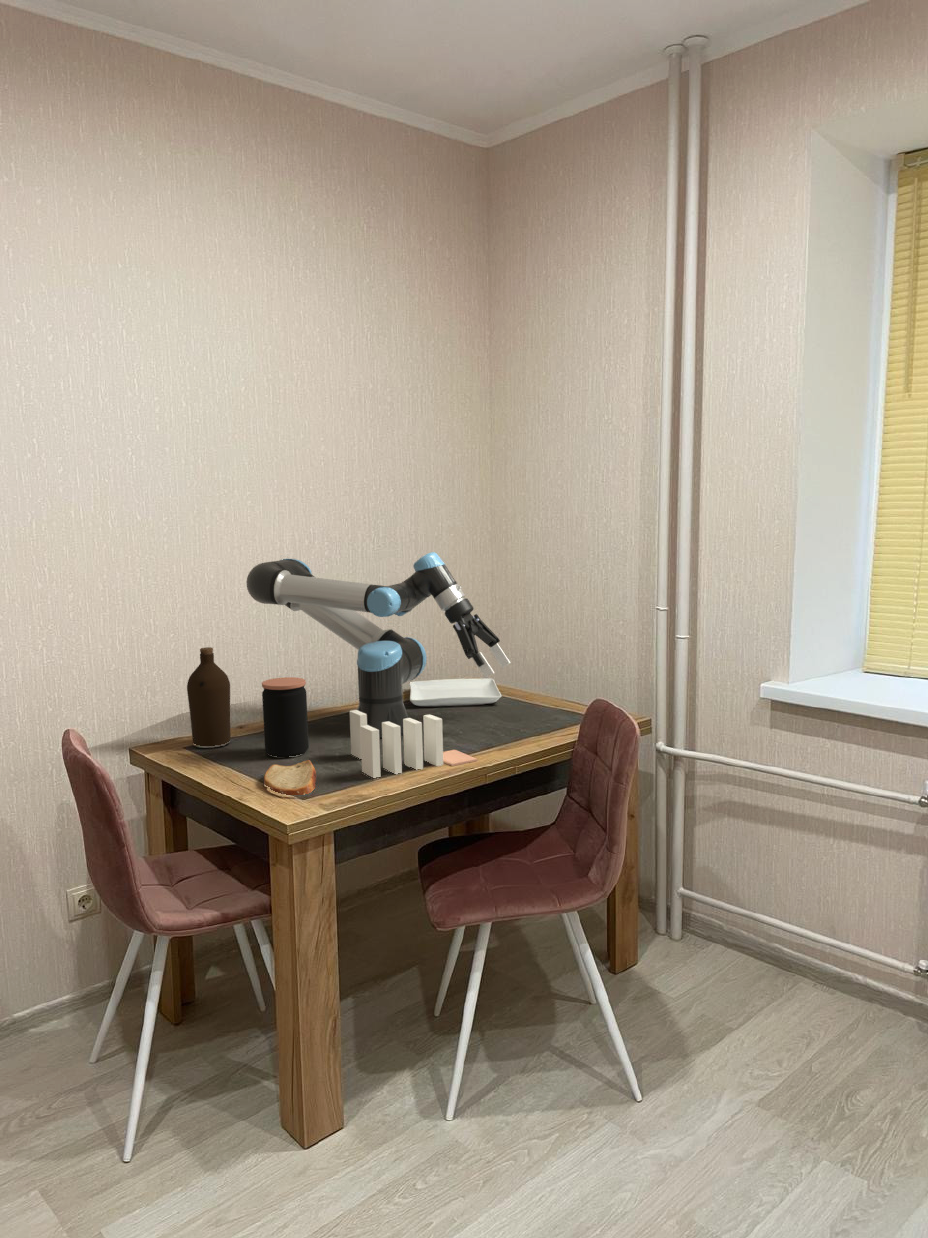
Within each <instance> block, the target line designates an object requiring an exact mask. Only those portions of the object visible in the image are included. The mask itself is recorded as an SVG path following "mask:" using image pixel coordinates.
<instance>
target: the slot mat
mask: <svg viewBox="0 0 928 1238" xmlns="http://www.w3.org/2000/svg"><path fill="white" fill-rule="evenodd" d="M469 762H470V763H474V762H478V759H477V758H476V757H473V756H471V755H468V754H466V753H463V752H461V751H459V750H457V749H451V750H445V751H443V764H446V765H447V766H451V767H455V766H459V765H460V766H461V765H465V764H470V763H469Z"/></svg>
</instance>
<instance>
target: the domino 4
mask: <svg viewBox="0 0 928 1238" xmlns="http://www.w3.org/2000/svg"><path fill="white" fill-rule="evenodd" d="M423 748H424V745H423V723H422V722H421V721H418V720H416V719H414V718H412V717H408V718H406V719H403V758H404V759H403V762H404V764H405V766H406V767H408V768H410V767H412V768H414V769H416V770H415V771H418V770H417V769H421V770H423V769H424V754H423V752H424V749H423ZM412 768H411V769H412ZM414 769H413V770H414Z"/></svg>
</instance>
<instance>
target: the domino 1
mask: <svg viewBox="0 0 928 1238" xmlns="http://www.w3.org/2000/svg"><path fill="white" fill-rule="evenodd" d="M364 725H367V714H365V713H362V712H360V711H358V710H357V709H353V710H349V730H350V732H349V733H350V755H351V754H352V755H354V756H356V757H358V758H359V759H358V758H357V759H358V760H360V759H362V755H361V727H360V726H364ZM352 755H351V756H352ZM354 756H353V757H354ZM356 757H355V758H356Z"/></svg>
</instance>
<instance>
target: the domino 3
mask: <svg viewBox="0 0 928 1238" xmlns="http://www.w3.org/2000/svg"><path fill="white" fill-rule="evenodd" d="M401 738H402V735H401V728H400V726H399V725H396V724H394V723H392V722H389V721H388V722H382V738H381V739H382V741H381V742H382V766H383V768H385V769H387V770H388V771H387V770H386V771H387V772H389V771H390V772H392V773H394V774H396V775H399V774H398V773H401V774H403V766H402V765H403V764H402V763H403V762H402V740H401ZM385 769H384V770H385ZM390 772H389V773H390ZM392 773H391V774H392ZM394 774H393V775H394Z"/></svg>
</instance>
